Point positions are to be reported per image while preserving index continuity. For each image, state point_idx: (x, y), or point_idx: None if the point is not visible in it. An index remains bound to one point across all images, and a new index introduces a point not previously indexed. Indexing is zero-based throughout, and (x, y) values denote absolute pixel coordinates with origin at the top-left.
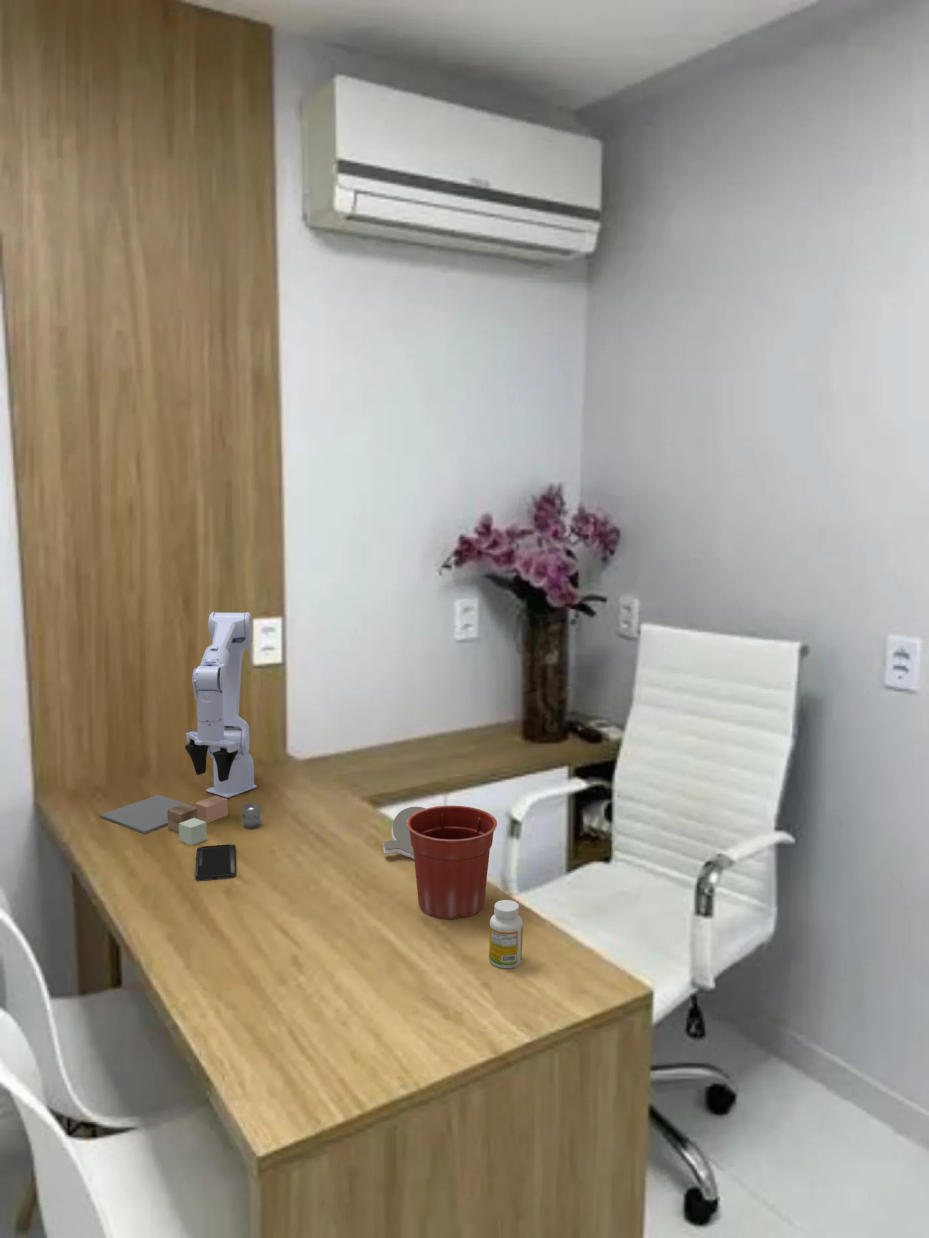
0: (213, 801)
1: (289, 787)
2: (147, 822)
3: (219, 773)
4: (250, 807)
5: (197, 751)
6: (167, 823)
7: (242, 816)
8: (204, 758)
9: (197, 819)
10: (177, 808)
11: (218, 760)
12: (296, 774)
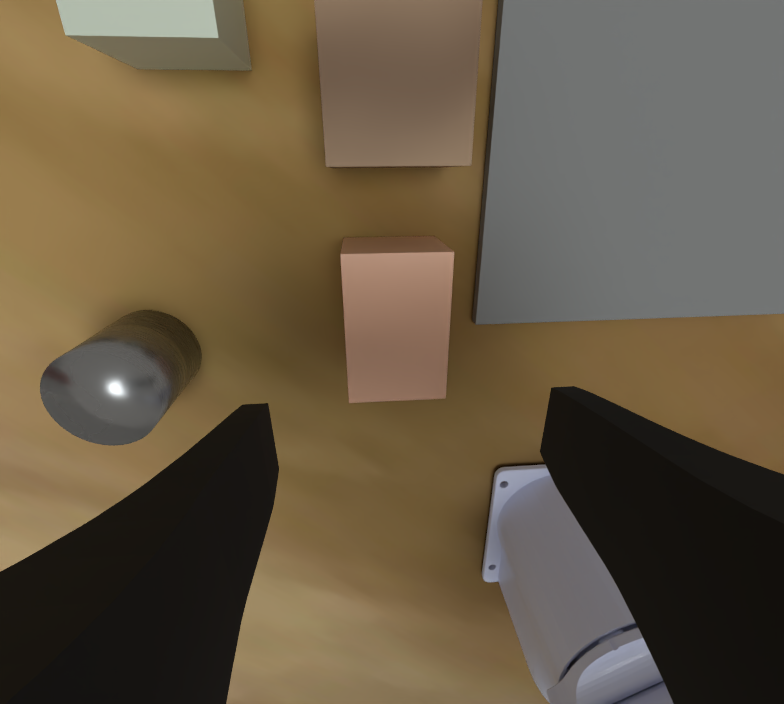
0: (382, 337)
1: (392, 628)
2: None
3: (205, 442)
4: (90, 388)
5: (755, 607)
6: (495, 69)
7: (154, 339)
8: (620, 561)
9: (166, 31)
10: (440, 63)
11: (14, 590)
12: (460, 683)
